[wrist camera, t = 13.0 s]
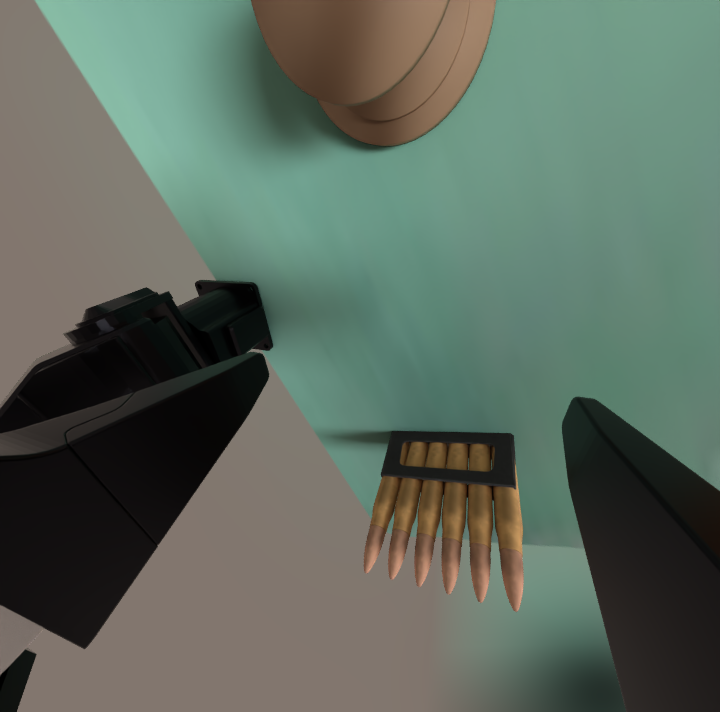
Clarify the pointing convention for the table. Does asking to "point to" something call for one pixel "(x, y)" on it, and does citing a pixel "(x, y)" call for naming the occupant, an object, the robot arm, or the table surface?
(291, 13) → the brown door knob
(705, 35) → the table surface
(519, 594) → the ammunition clip
